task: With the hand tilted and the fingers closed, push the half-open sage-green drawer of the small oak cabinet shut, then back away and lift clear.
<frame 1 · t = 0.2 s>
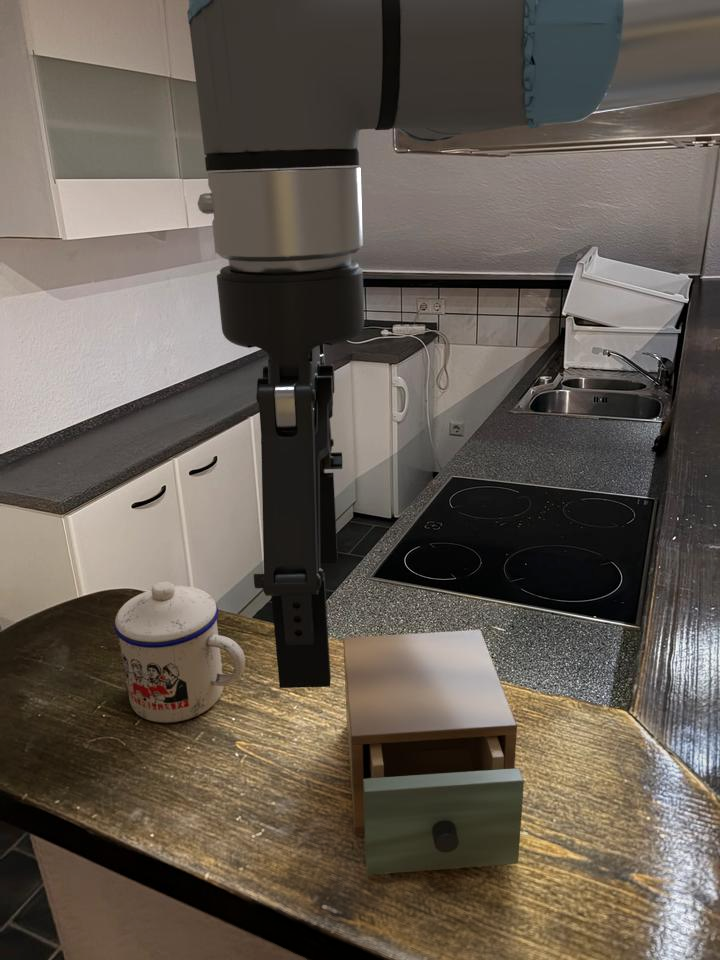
hand: (312, 614, 47), 20 cm above the countertop, tool pointing down, fingers open, 13 cm apart
drawer: (432, 775, 55), point 5 cm above the countertop, slide at 3.0 cm
cabinet: (421, 770, 62), on the countertop
teacup with lid: (191, 699, 71), on the countertop
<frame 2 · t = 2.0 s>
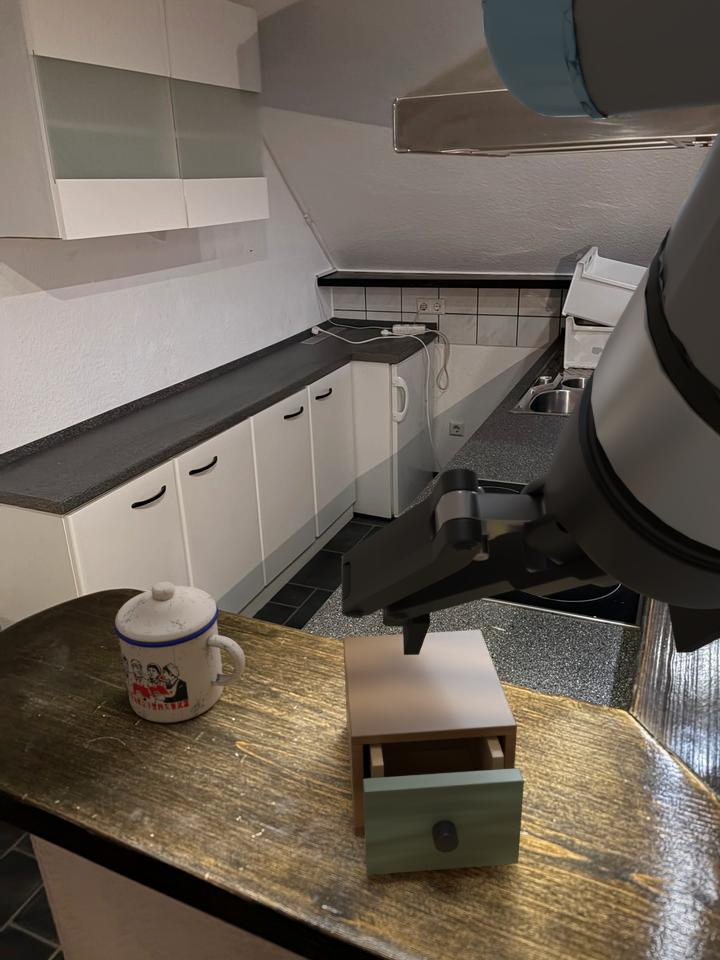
hand: (544, 627, 39), 23 cm above the countertop, tool tilted 45°, fingers open, 13 cm apart
nothing on the countertop moved.
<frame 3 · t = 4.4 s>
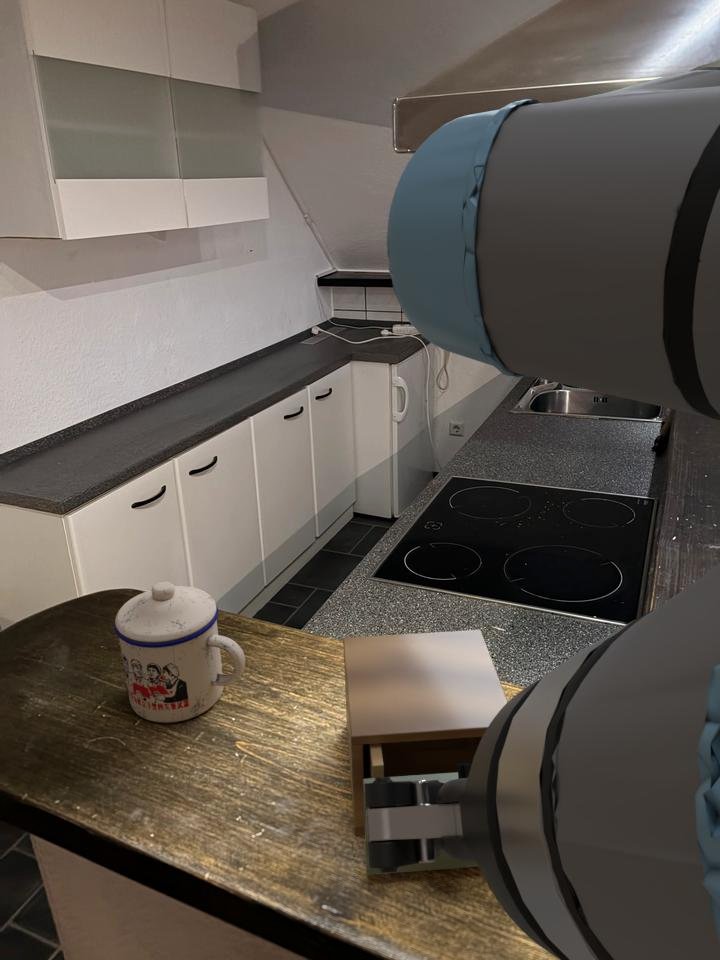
hand: (477, 809, 39), 15 cm above the countertop, tool tilted 45°, fingers closed
nothing on the countertop moved.
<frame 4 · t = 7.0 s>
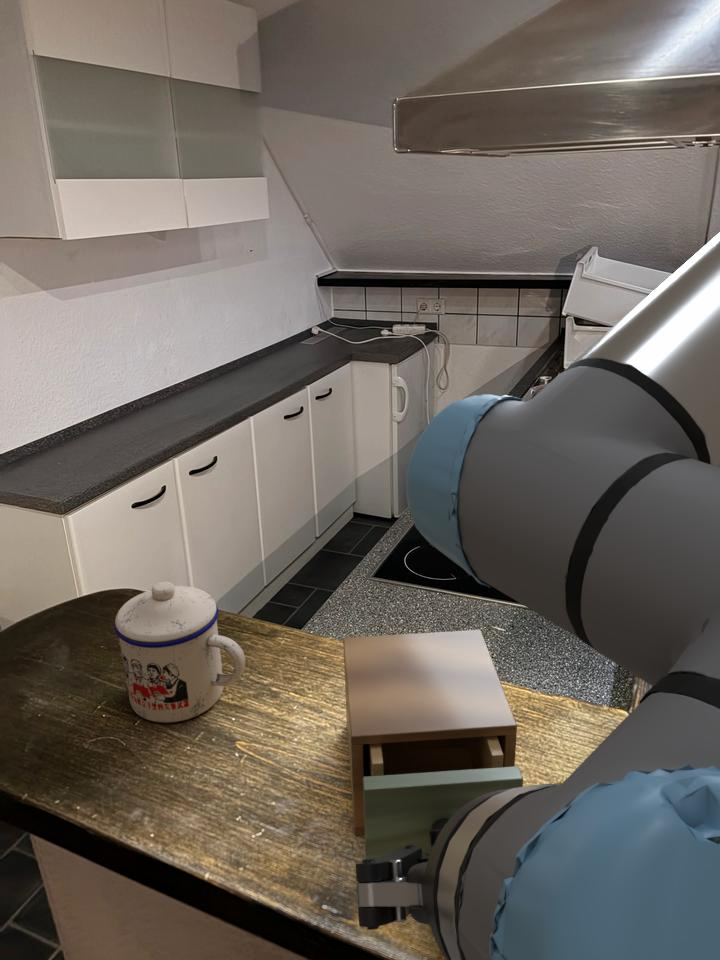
hand: (449, 858, 48), 4 cm above the countertop, tool tilted 45°, fingers closed
drawer: (432, 773, 55), point 5 cm above the countertop, slide at 2.8 cm, touching gripper
everything else where it was.
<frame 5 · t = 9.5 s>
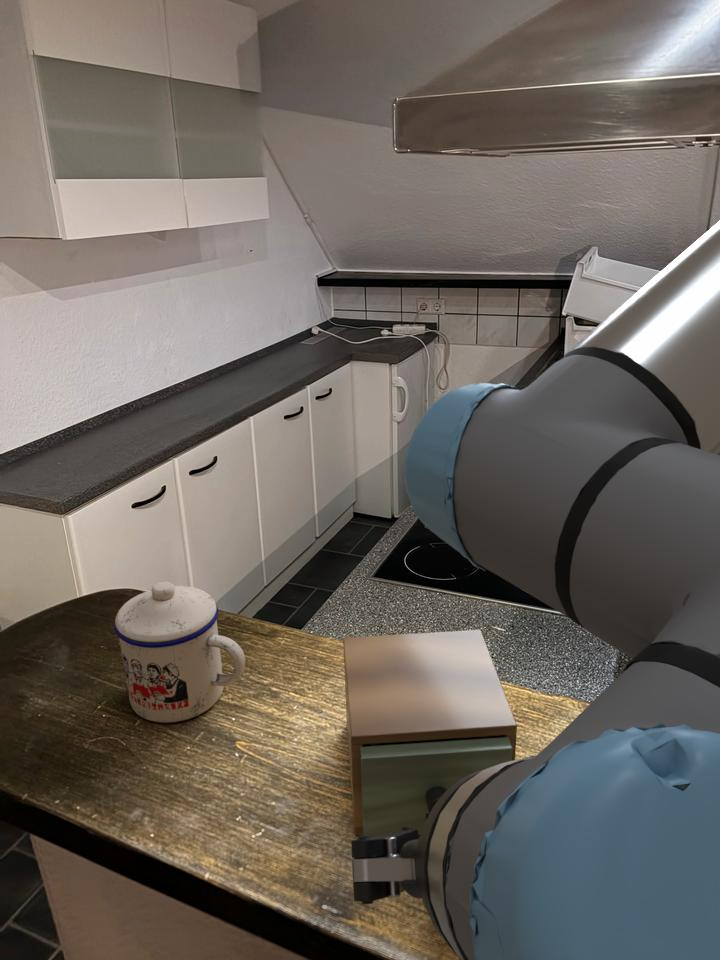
hand: (446, 843, 49), 5 cm above the countertop, tool tilted 45°, fingers closed
drawer: (426, 746, 58), point 5 cm above the countertop, slide at 0.0 cm, touching cabinet
everything else where it was.
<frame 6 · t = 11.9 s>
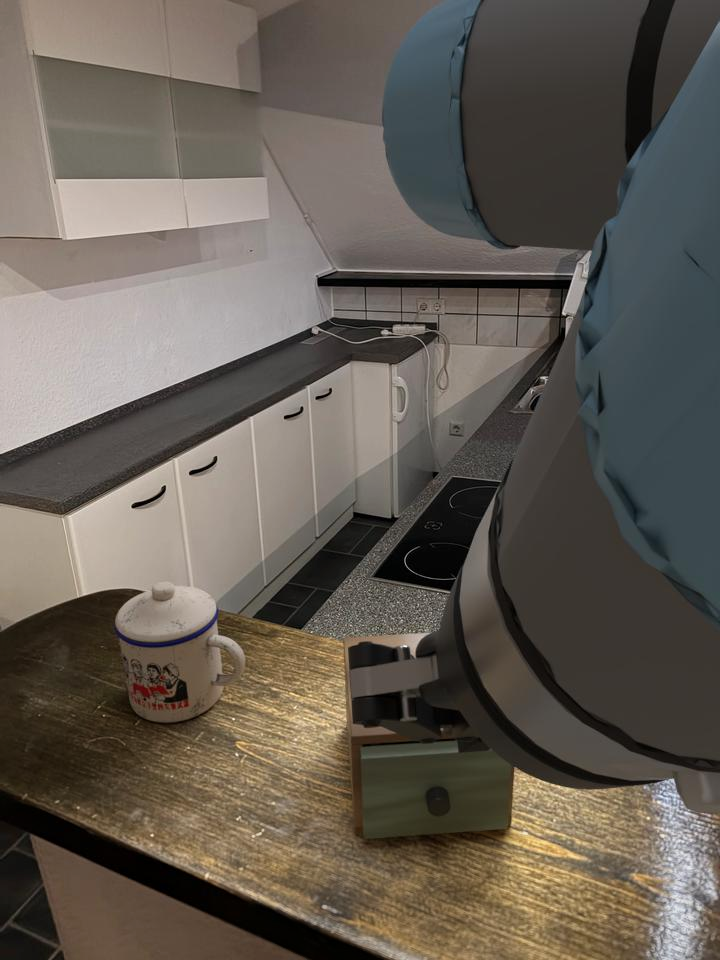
hand: (469, 724, 40), 18 cm above the countertop, tool tilted 45°, fingers closed
nothing on the countertop moved.
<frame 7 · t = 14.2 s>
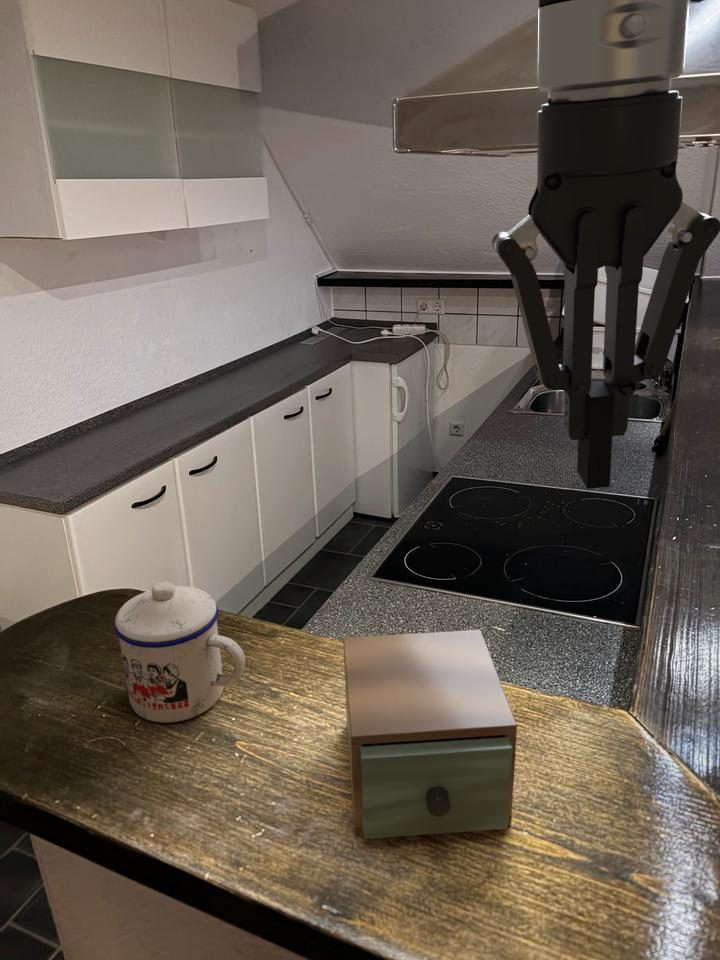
hand: (593, 478, 52), 25 cm above the countertop, tool pointing down, fingers closed
nothing on the countertop moved.
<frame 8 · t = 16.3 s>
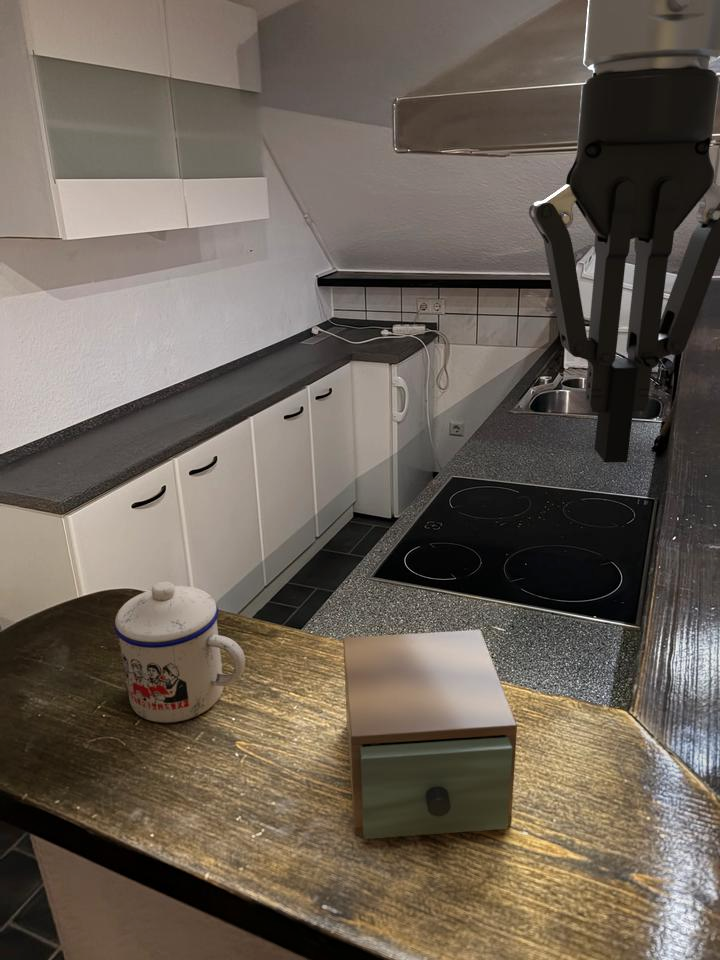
hand: (610, 455, 53), 26 cm above the countertop, tool pointing down, fingers closed
nothing on the countertop moved.
at the end: drawer slide at 0.0 cm; teacup with lid moved 0.2 cm from its start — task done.
